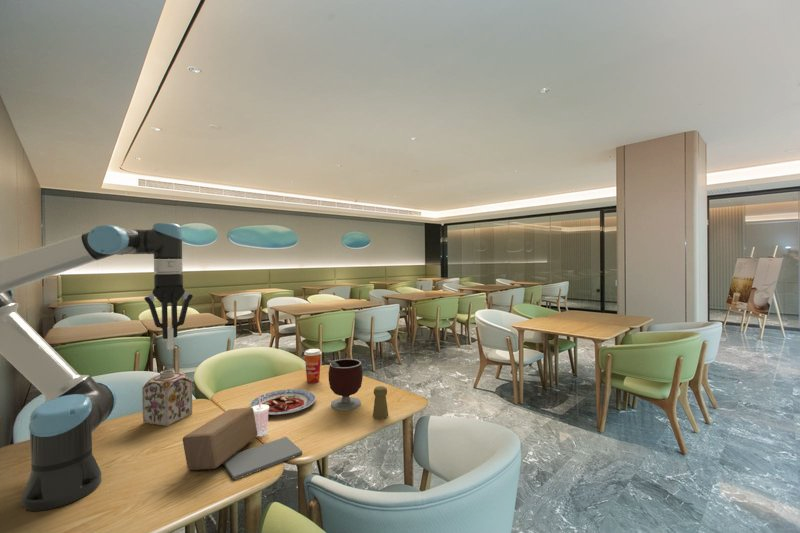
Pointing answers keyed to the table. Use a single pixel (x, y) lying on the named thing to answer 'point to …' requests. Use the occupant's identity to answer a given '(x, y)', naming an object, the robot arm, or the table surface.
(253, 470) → the mat
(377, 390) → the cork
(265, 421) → the beverage cup
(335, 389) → the mate gourd
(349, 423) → the table surface
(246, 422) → the block
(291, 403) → the ceramic plate
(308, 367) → the coffee cup
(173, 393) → the decorative jar
